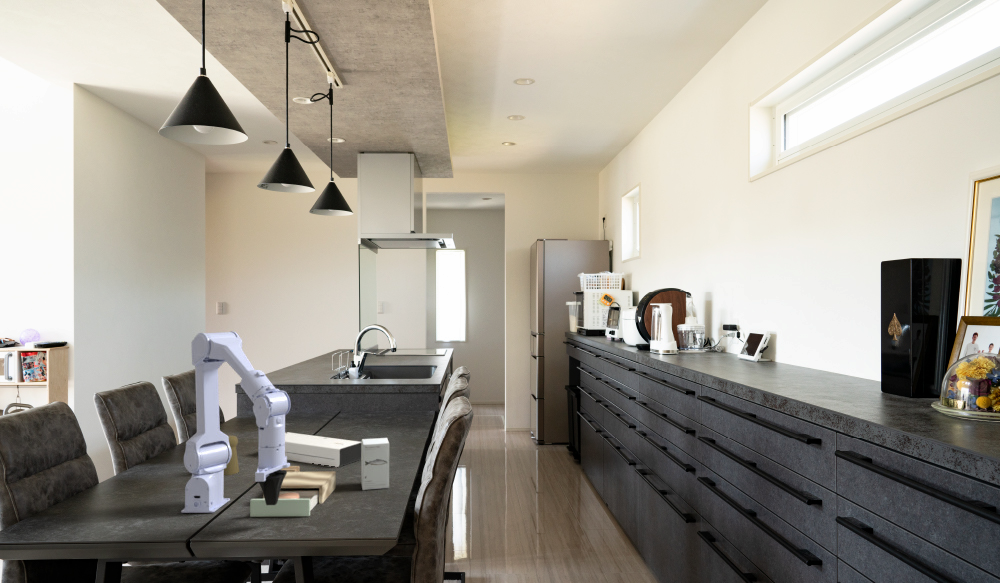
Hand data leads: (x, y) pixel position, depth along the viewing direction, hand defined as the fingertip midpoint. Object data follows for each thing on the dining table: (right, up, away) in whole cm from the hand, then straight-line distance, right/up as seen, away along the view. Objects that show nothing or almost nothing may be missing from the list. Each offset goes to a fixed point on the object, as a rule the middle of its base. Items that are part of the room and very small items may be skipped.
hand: (271, 504), depth 138 cm
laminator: (-10, -7, +60) cm, 61 cm away
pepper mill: (-30, -6, +43) cm, 53 cm away
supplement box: (+18, -6, +30) cm, 35 cm away
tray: (0, -5, +12) cm, 13 cm away
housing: (0, -5, +20) cm, 21 cm away
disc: (0, -4, +11) cm, 11 cm away
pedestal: (-7, -6, +33) cm, 35 cm away
